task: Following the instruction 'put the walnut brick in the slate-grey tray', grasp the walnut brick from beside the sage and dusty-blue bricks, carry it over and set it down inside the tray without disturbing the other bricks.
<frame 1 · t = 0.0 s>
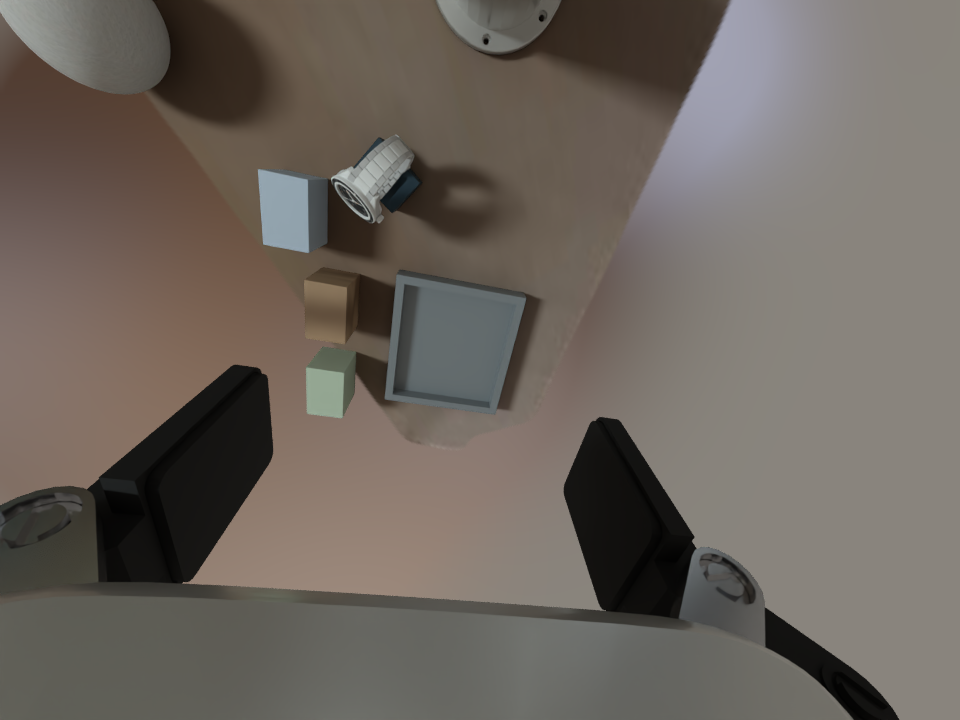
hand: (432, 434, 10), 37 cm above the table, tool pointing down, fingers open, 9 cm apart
ball: (140, 39, 34), on the table
sage brick: (339, 370, 51), on the table
dusty blue brick: (307, 208, 41), on the table
tray: (451, 344, 50), on the table
walnut brick: (341, 297, 46), on the table
watch: (391, 177, 40), on the table
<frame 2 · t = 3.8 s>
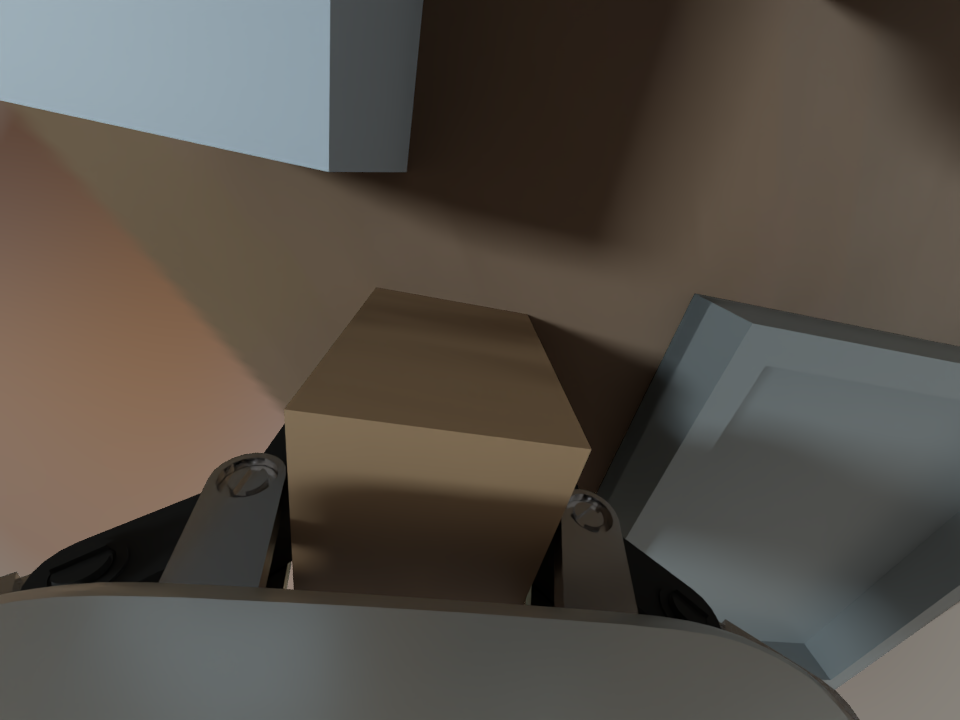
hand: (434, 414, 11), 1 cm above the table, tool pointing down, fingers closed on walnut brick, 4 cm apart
tray: (762, 520, 16), on the table
walnut brick: (436, 399, 12), on the table, touching gripper
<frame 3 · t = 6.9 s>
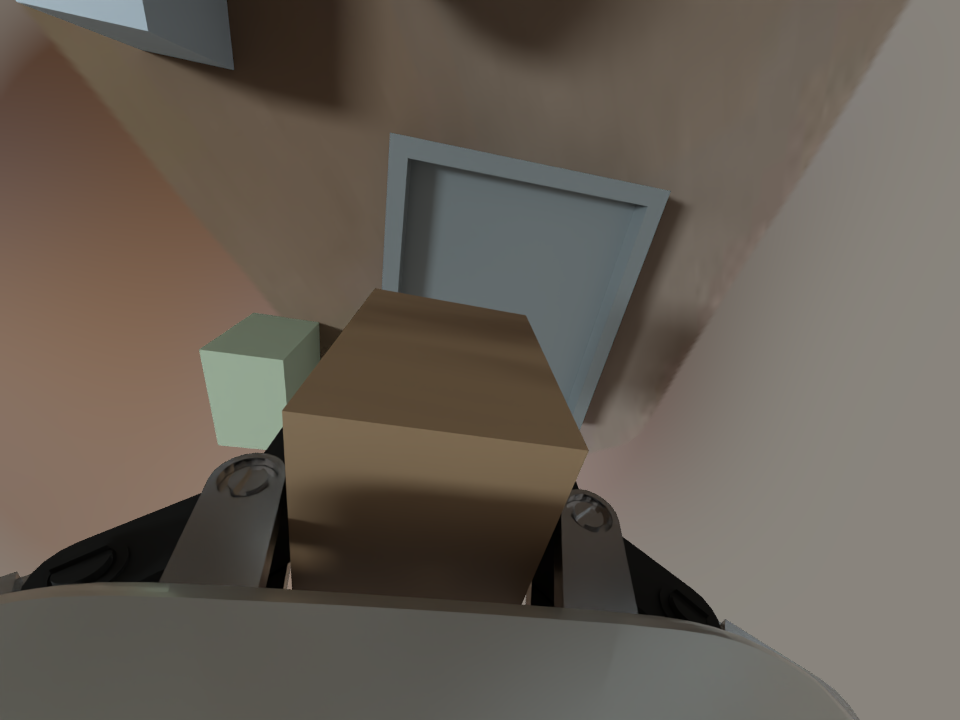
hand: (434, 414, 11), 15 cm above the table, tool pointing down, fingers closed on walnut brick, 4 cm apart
sage brick: (290, 360, 27), on the table
tray: (500, 303, 26), on the table
walnut brick: (435, 400, 12), point 15 cm above the table, touching gripper
when the fingers open (3 cm above the table, at t = 9.9 s): walnut brick drops 2 cm, resting on tray.
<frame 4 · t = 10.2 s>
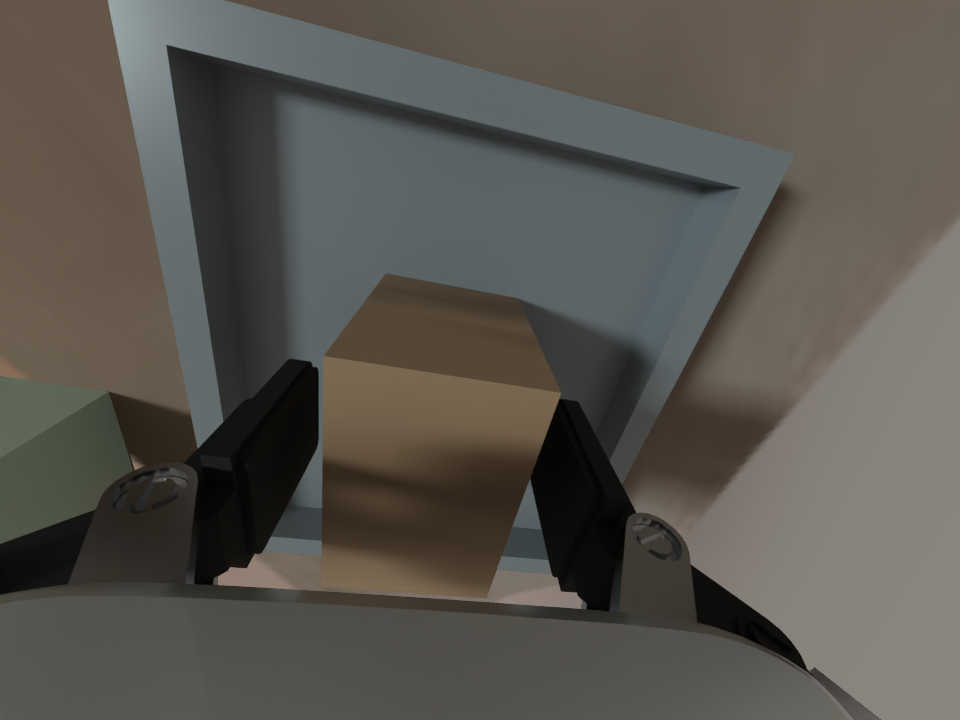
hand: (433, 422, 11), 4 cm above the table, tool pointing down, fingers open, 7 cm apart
sage brick: (73, 450, 16), on the table
tray: (440, 364, 14), on the table
walnut brick: (438, 374, 14), point 1 cm above the table, touching tray
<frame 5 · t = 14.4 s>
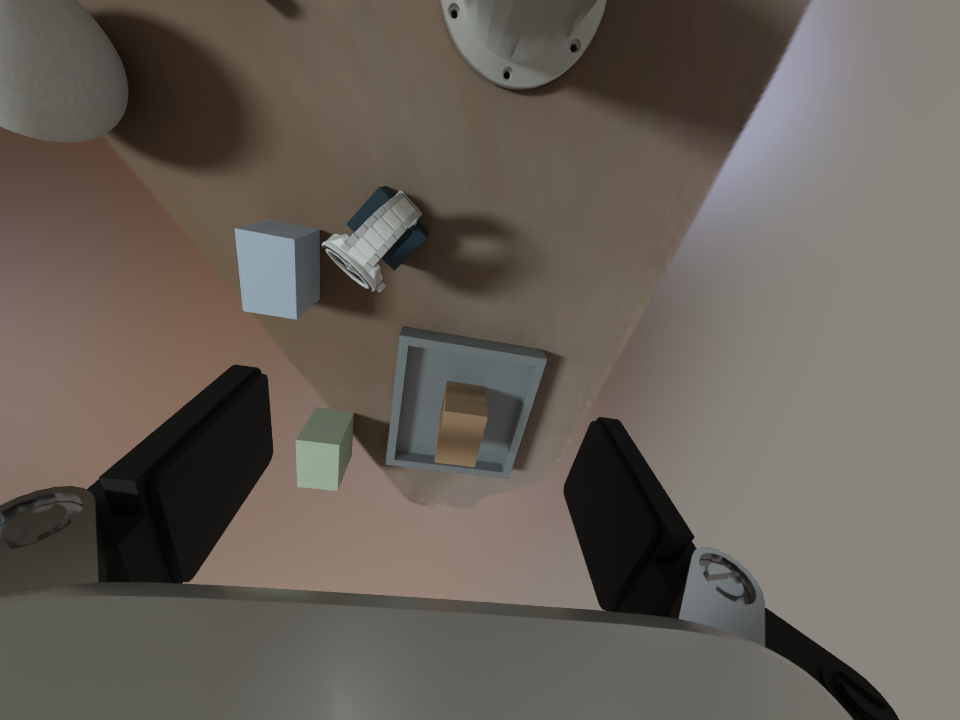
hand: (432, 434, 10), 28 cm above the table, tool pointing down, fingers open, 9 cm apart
ball: (93, 73, 28), on the table
sage brick: (334, 432, 45), on the table
dusty blue brick: (296, 261, 35), on the table
tray: (460, 404, 44), on the table
walnut brick: (460, 407, 43), point 1 cm above the table, touching tray
watch: (393, 227, 34), on the table
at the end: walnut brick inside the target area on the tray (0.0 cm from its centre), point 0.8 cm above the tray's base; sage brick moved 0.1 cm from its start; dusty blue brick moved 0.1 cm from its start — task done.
